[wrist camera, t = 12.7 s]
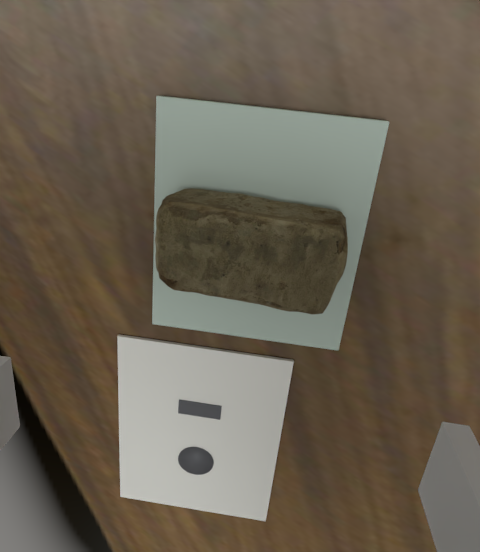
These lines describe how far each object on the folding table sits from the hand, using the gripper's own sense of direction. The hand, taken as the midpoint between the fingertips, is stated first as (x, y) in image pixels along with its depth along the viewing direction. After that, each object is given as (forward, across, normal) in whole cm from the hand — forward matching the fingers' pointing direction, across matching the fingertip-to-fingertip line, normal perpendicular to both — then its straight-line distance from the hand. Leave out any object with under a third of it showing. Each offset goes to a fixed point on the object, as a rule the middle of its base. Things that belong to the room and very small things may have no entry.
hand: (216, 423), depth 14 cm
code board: (+19, +3, +19) cm, 27 cm away
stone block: (+18, 0, 0) cm, 18 cm away
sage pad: (+19, 0, 0) cm, 19 cm away
